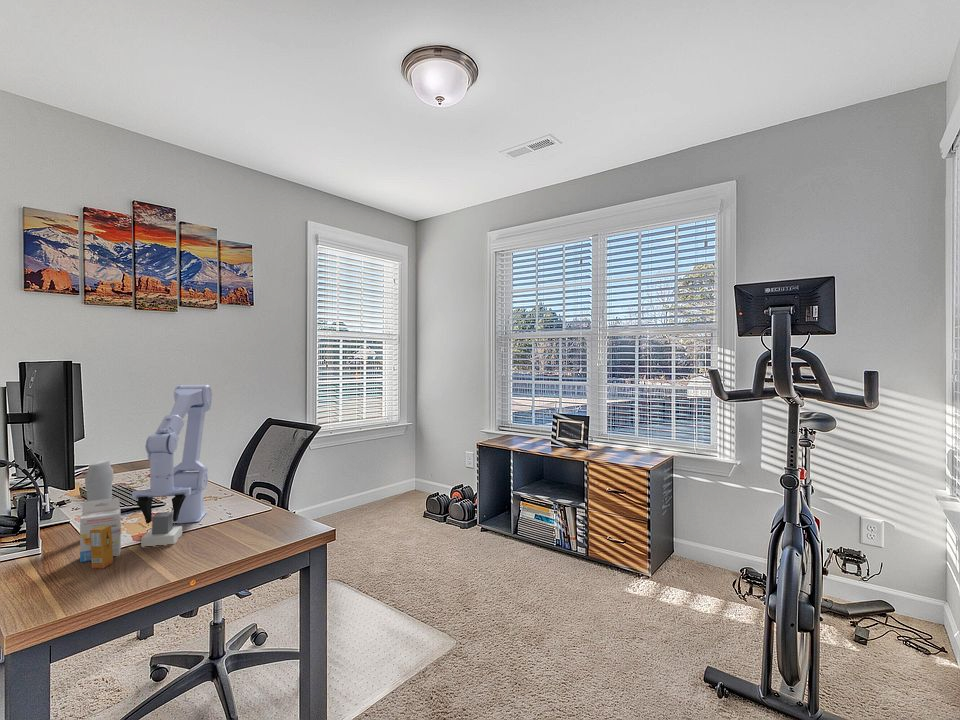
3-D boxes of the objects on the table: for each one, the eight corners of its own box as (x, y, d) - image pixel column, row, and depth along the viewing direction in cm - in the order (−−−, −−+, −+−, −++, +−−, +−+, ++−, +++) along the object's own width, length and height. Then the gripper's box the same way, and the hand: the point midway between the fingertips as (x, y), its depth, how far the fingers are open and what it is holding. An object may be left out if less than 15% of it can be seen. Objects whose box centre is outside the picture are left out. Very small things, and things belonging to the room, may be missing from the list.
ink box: (79, 563, 127) (78, 507, 127) (82, 556, 132) (81, 502, 131) (120, 556, 132) (119, 501, 132) (121, 549, 136) (120, 496, 136)
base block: (151, 538, 145) (151, 528, 145) (182, 535, 148) (182, 525, 148) (141, 548, 138) (141, 538, 138) (173, 545, 140) (173, 535, 140)
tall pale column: (93, 540, 143) (92, 464, 142) (79, 540, 143) (78, 464, 142) (119, 527, 153) (119, 457, 153) (106, 527, 153) (105, 456, 153)
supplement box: (100, 563, 128) (100, 524, 127) (113, 563, 127) (112, 525, 127) (89, 568, 124) (89, 529, 124) (103, 569, 124) (102, 529, 124)
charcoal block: (157, 529, 144) (157, 512, 144) (172, 528, 145) (172, 511, 145) (151, 534, 140) (152, 517, 140) (167, 533, 141) (168, 516, 141)
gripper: (127, 480, 137) (127, 528, 137) (185, 476, 140) (186, 523, 141) (137, 473, 143) (137, 520, 144) (193, 470, 147) (193, 515, 147)
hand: (162, 521), depth 143 cm, fingers open, 6 cm apart
